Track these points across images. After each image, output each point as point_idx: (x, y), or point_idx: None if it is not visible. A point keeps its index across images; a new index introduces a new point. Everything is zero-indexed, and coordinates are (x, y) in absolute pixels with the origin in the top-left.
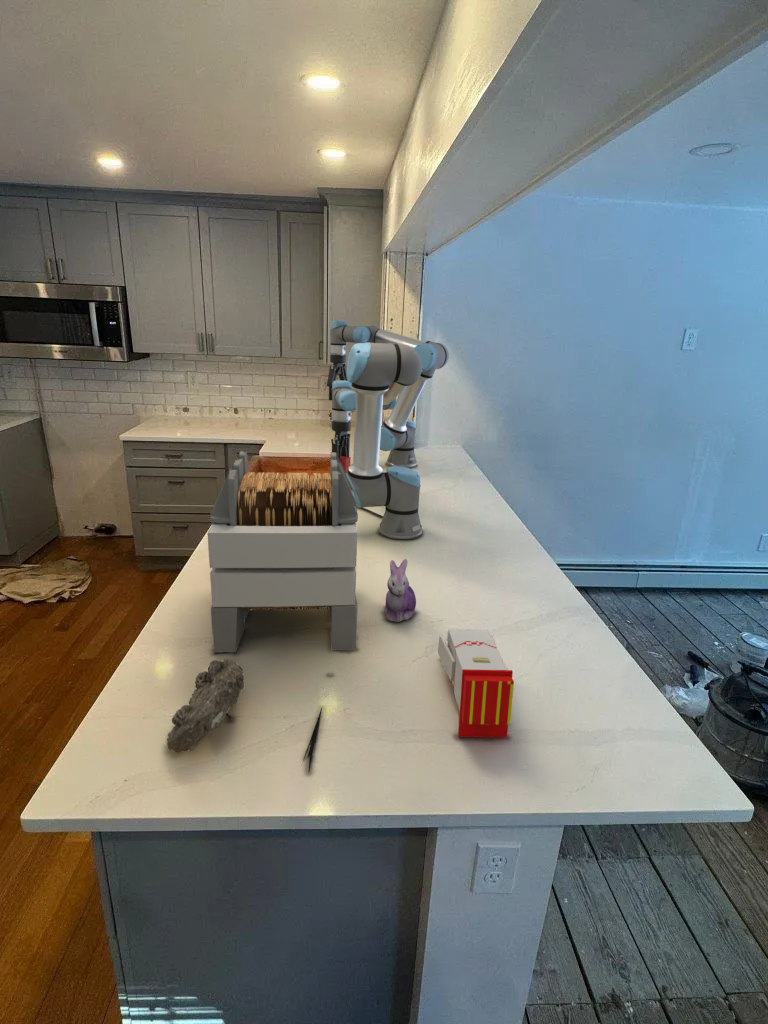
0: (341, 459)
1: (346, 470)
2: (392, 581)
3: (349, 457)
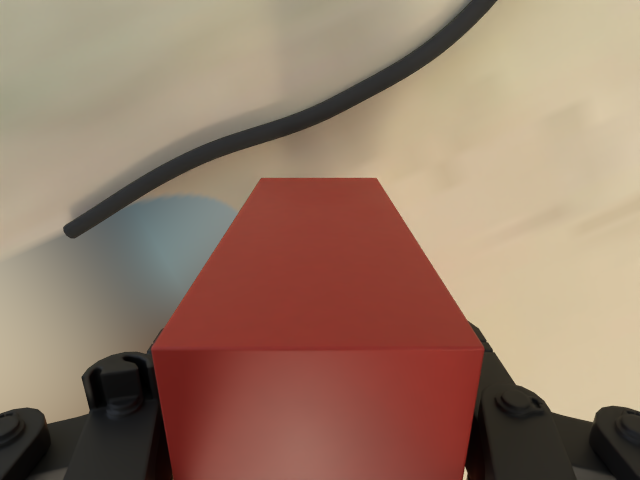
0: (463, 439)
1: (384, 233)
2: None
3: (222, 352)
